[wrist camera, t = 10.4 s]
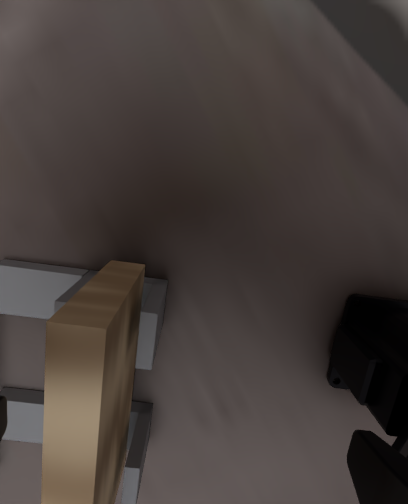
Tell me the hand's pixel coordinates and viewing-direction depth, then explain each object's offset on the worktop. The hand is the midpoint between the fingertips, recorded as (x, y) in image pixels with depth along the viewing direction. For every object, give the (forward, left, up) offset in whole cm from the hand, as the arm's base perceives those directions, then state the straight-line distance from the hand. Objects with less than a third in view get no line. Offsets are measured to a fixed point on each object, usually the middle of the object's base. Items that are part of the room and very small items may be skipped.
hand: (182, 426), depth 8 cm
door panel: (+4, +6, -11) cm, 13 cm away
